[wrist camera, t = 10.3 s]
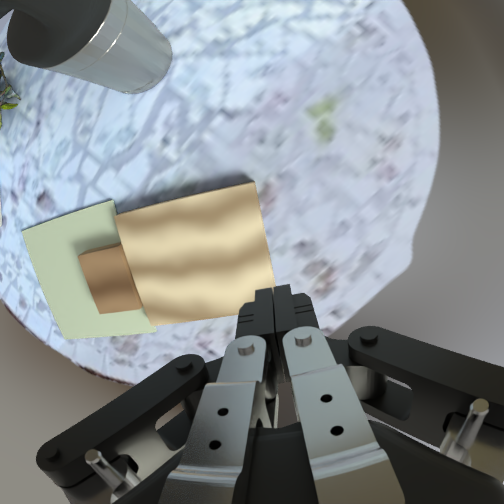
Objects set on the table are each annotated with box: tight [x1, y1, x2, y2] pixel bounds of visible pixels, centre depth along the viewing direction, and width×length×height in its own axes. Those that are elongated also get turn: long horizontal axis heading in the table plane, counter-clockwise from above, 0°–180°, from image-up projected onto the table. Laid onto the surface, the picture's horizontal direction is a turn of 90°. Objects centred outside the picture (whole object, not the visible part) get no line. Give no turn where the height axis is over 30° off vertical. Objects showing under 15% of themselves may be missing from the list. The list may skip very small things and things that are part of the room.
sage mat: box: [22, 200, 157, 339], centre depth 41 cm, size 20×19×1 cm
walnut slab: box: [77, 242, 143, 314], centre depth 39 cm, size 9×7×2 cm
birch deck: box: [114, 181, 276, 326], centre depth 38 cm, size 16×18×2 cm
